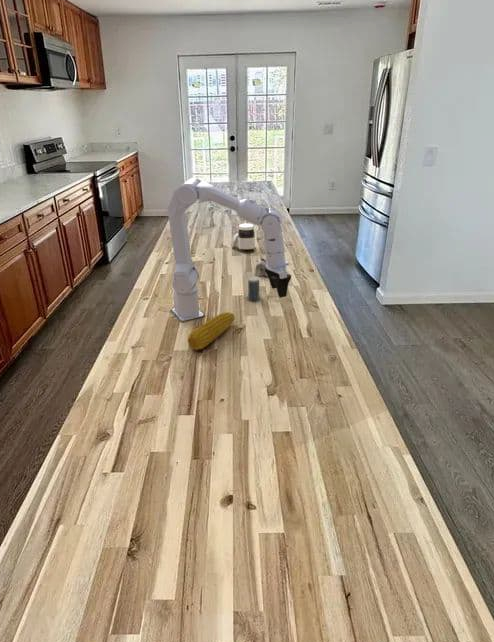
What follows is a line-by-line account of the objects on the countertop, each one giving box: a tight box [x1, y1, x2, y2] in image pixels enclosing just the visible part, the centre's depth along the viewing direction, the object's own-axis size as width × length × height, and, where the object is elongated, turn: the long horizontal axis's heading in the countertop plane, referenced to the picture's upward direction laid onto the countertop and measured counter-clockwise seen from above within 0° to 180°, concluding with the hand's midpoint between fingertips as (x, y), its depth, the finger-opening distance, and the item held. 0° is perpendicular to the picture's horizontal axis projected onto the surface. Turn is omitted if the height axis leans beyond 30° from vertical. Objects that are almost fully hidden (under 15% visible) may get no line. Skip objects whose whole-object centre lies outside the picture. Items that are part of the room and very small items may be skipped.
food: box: [187, 311, 235, 351], centre depth 131 cm, size 21×6×6 cm, turn 149°
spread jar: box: [230, 222, 256, 253], centre depth 202 cm, size 12×11×12 cm
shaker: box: [247, 276, 260, 302], centre depth 154 cm, size 4×4×8 cm
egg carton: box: [255, 261, 268, 277], centre depth 176 cm, size 11×8×4 cm
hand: (279, 292), depth 136 cm, fingers open, 7 cm apart
